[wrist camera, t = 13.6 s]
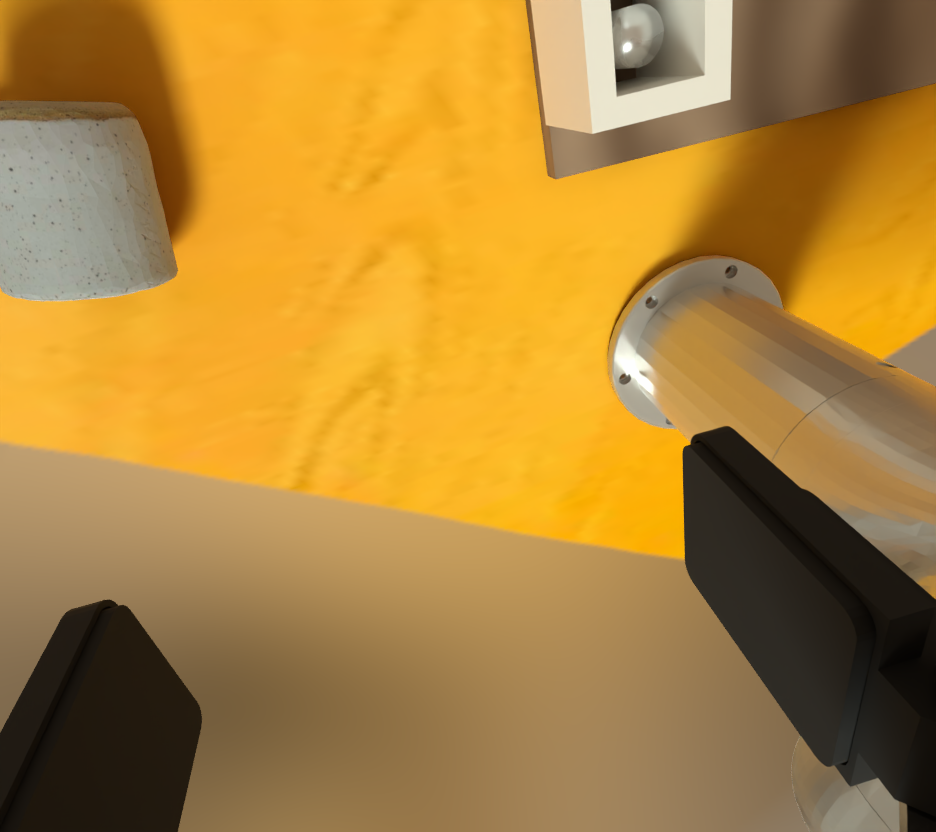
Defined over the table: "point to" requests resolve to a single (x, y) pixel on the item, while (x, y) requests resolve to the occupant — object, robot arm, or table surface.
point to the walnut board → (771, 75)
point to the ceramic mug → (78, 203)
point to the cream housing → (656, 84)
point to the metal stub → (636, 35)
